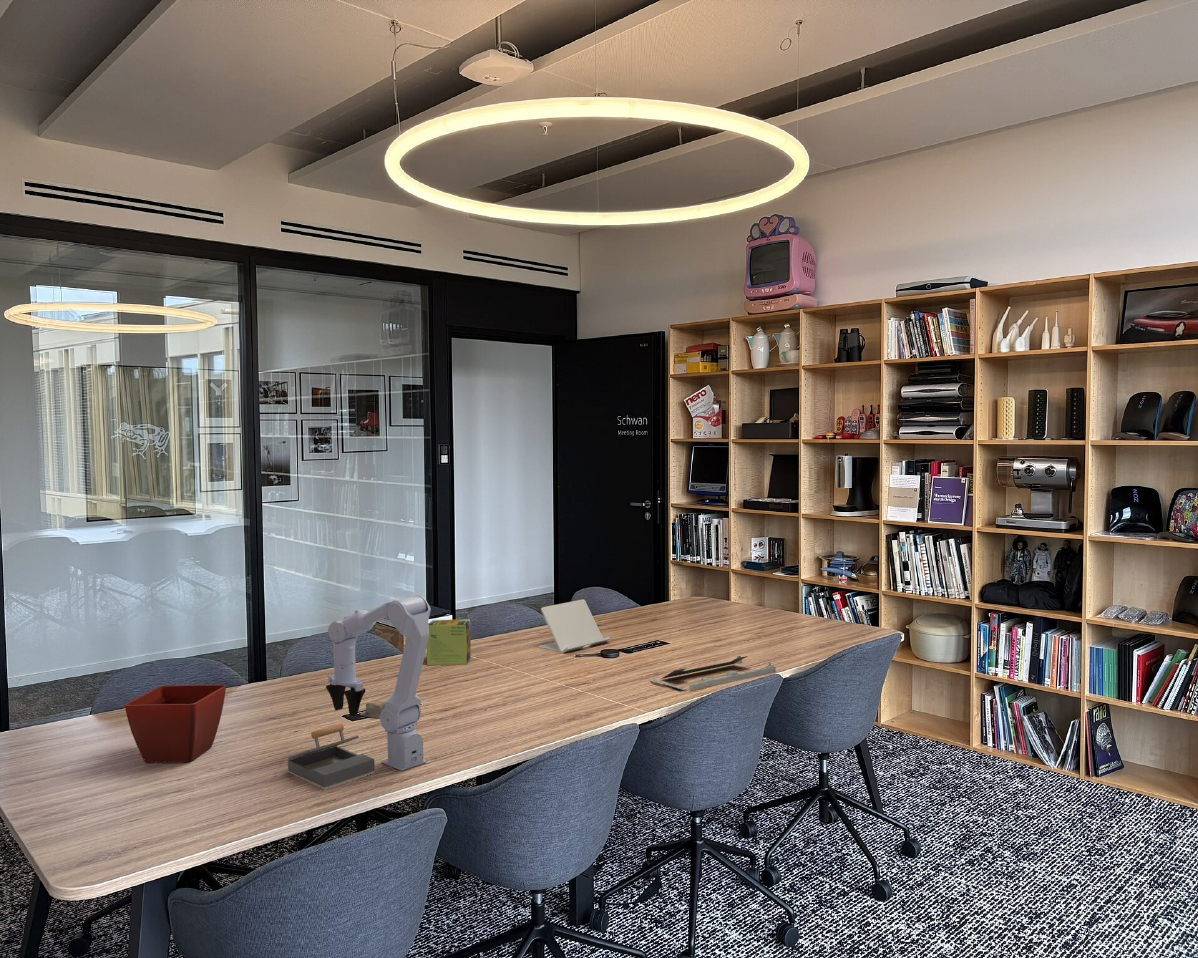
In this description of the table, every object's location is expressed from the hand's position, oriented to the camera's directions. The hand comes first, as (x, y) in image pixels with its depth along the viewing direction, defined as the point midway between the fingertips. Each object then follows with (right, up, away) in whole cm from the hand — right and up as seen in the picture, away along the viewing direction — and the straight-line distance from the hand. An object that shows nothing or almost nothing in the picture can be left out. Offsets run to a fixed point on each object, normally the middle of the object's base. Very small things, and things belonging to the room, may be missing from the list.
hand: (346, 712), depth 240 cm
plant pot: (-45, -12, -1) cm, 47 cm away
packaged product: (+4, -10, +37) cm, 38 cm away
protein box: (+12, -7, +96) cm, 97 cm away
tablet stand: (+60, -5, +120) cm, 134 cm away
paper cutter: (+109, -6, +68) cm, 129 cm away
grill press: (-2, -6, -14) cm, 16 cm away
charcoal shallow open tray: (+1, -11, -17) cm, 20 cm away
